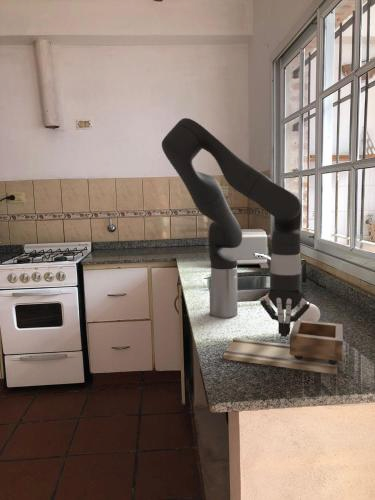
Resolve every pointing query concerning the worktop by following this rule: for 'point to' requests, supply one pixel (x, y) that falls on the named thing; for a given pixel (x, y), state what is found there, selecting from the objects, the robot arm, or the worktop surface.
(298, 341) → the open wooden crate
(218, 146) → the robot arm
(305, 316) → the lightbulb
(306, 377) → the worktop surface
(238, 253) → the toaster
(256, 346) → the track
